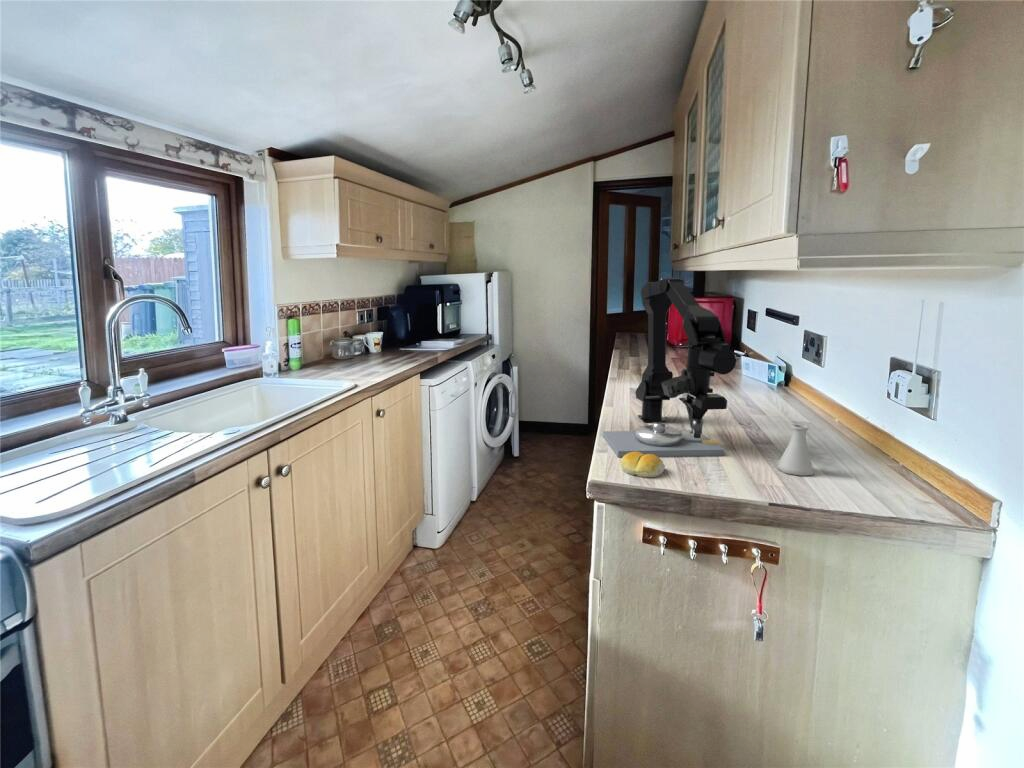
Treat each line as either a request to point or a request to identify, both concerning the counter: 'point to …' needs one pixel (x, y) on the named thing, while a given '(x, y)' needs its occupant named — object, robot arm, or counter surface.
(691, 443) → the slate board
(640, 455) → the bread roll
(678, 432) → the silver round handled piece
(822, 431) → the counter surface
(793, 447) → the flask
